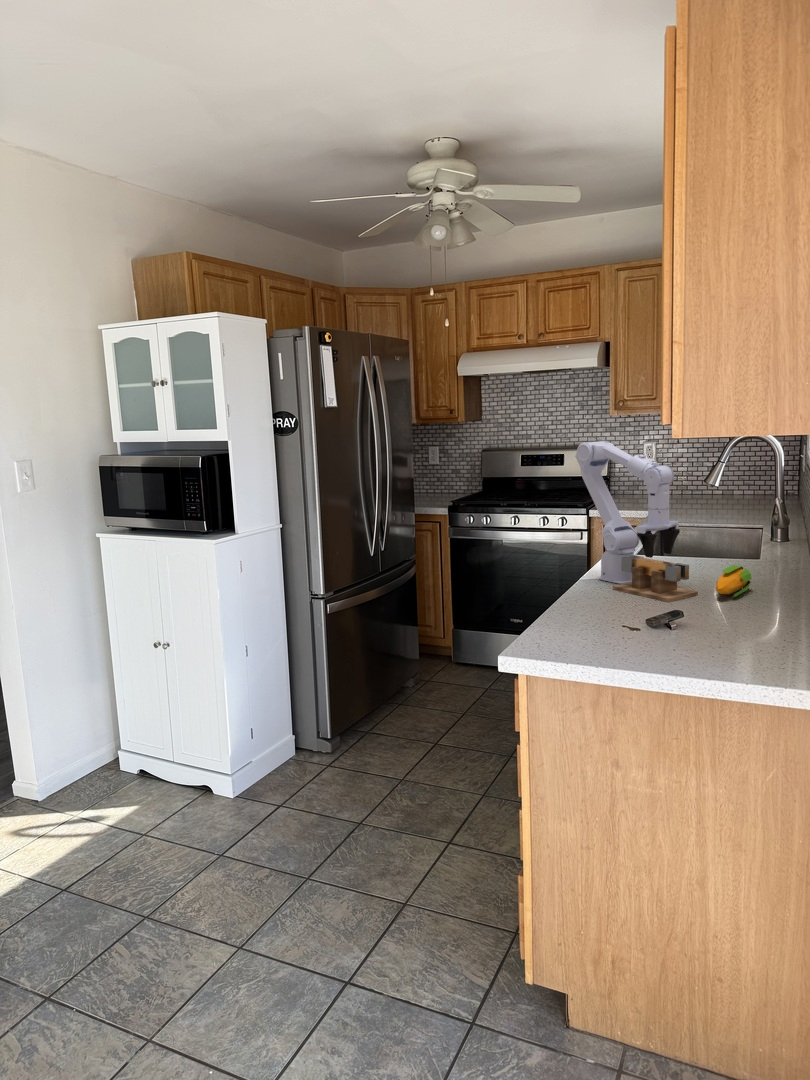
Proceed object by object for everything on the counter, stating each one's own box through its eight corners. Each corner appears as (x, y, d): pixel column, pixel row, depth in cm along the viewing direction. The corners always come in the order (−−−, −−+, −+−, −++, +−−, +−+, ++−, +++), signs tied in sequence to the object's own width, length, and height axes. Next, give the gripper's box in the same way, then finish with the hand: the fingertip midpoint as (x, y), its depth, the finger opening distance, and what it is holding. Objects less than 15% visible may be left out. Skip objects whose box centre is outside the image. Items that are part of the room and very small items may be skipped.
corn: (755, 561, 214) (734, 575, 199) (756, 588, 215) (736, 603, 200) (728, 561, 219) (705, 574, 204) (729, 587, 220) (707, 602, 205)
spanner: (621, 570, 223) (621, 557, 222) (633, 568, 225) (633, 555, 224) (676, 581, 206) (676, 567, 205) (688, 579, 209) (689, 564, 208)
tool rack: (612, 589, 222) (612, 565, 221) (641, 583, 228) (641, 560, 227) (668, 602, 205) (668, 576, 204) (697, 595, 211) (698, 570, 210)
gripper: (651, 512, 210) (651, 560, 212) (687, 506, 217) (686, 553, 219) (632, 510, 216) (632, 557, 218) (667, 505, 223) (667, 550, 225)
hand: (658, 555), depth 219 cm, fingers open, 7 cm apart
